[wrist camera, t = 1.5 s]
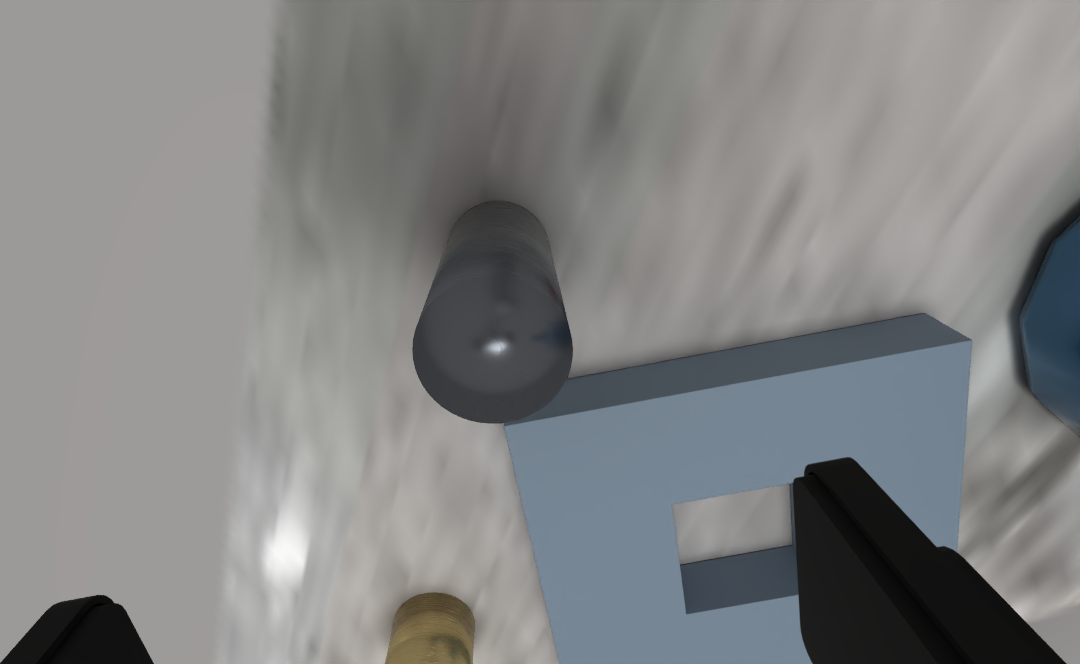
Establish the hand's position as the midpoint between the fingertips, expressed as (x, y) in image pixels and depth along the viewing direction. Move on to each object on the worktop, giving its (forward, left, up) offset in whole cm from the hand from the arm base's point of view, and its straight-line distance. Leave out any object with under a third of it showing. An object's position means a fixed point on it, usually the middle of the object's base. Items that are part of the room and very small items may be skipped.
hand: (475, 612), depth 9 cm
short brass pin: (+18, -7, -18) cm, 26 cm away
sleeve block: (+14, +8, -18) cm, 24 cm away
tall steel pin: (0, 0, -18) cm, 18 cm away
